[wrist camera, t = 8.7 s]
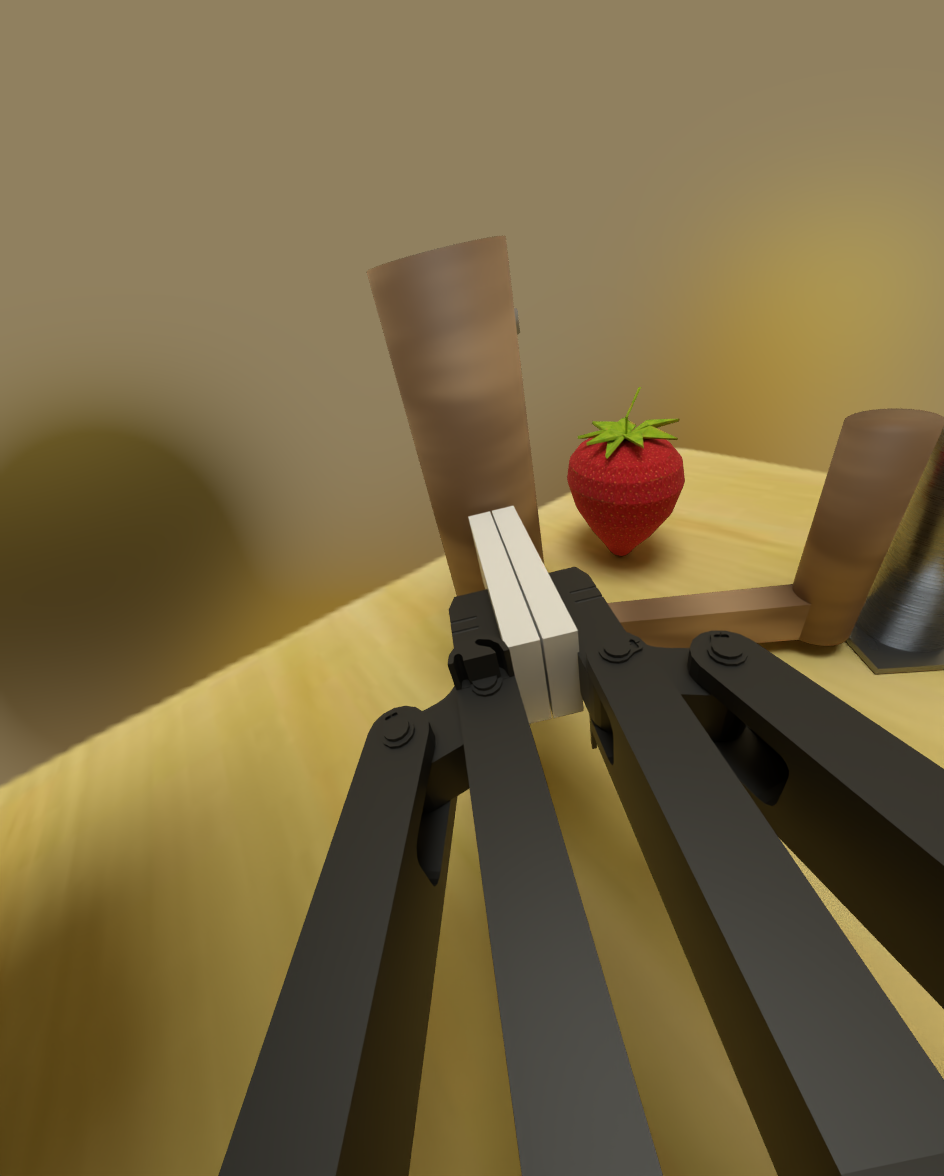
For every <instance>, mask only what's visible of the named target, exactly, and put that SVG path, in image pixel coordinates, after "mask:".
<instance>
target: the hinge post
mask: <svg viewBox="0 0 944 1176" xmlns="http://www.w3.org/2000/svg"><path fill="white" fill-rule="evenodd" d="M846 642H847V643H848V644H849V645H850V646H851V648H852V649H853V650H854V651H855V652H856V653H857V654H858V655H859V656H860V658H861V659H862V660H863V661H864V662H865V663H866V664H867V665H868V666H869V667H870V669H871V670H872V671H873V672H874V673H875V674H885V673H900V672H915V671H931V670H944V427H943V429H942V432H941V434H940V436H939V438H938V440H937V443H936V445H935V447H934V449H933V452H932V454H931V456H930V458H929V460H928V463H927V465H926V467H925V469H924V471H923V474H922V476H921V478H920V480H919V483H918V485H917V487H916V489H915V491H914V494H913V496H912V498H911V500H910V503H909V505H908V507H907V509H906V511H905V514H904V516H903V518H902V520H901V522H900V525H899V527H898V529H897V531H896V534H895V536H894V538H893V540H892V542H891V545H890V547H889V549H888V551H887V553H886V556H885V558H884V560H883V562H882V565H881V567H880V569H879V571H878V573H877V576H876V578H875V580H874V582H873V585H872V587H871V589H870V591H869V593H868V596H867V598H866V601H865V604H864V606H863V608H862V610H861V612H860V615H859V617H858V619H857V621H856V623H855V626H854V628H853V630H852V632H851V635H850V636H849V638H848V639H847V640H846Z"/></svg>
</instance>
